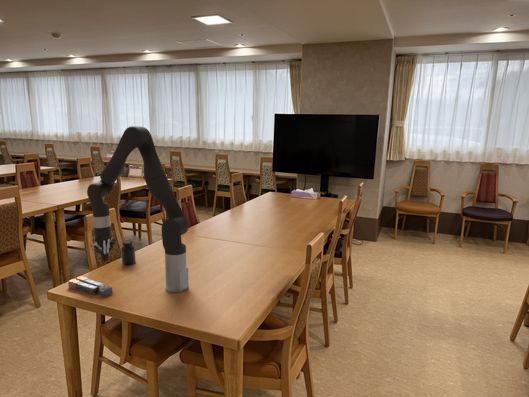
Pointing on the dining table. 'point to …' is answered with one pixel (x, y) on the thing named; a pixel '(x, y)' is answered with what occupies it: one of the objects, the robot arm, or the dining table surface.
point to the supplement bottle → (128, 253)
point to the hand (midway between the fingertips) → (105, 260)
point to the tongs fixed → (90, 288)
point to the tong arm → (88, 281)
